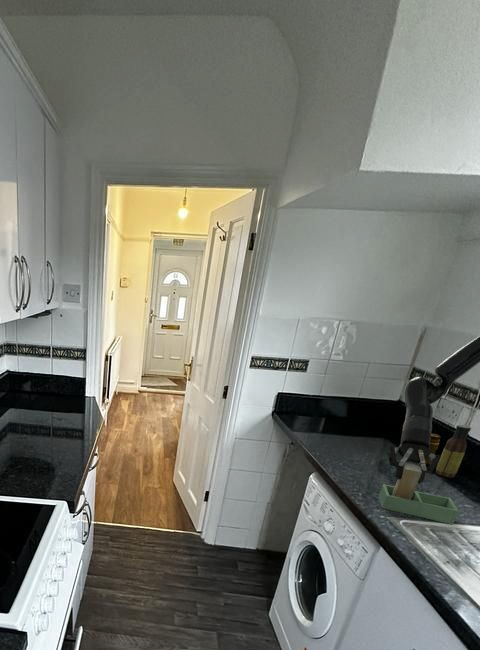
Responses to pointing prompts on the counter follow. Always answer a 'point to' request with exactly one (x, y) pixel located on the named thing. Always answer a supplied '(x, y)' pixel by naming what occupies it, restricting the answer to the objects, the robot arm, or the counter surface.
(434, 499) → the holder
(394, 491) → the cosmetic box
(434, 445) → the condiment
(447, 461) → the sauce bottle
